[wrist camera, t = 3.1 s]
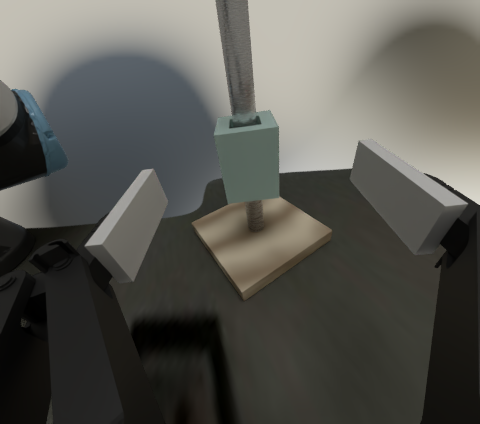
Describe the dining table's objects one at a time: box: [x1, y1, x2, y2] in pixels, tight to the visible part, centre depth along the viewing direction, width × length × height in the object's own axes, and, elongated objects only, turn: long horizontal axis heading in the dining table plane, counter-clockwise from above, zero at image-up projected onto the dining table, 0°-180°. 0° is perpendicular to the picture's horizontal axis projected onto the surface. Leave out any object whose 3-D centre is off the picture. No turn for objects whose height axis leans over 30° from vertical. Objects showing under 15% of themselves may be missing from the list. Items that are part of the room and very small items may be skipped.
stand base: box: [192, 197, 332, 301], centre depth 31 cm, size 15×15×2 cm
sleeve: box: [214, 110, 279, 204], centre depth 23 cm, size 6×6×8 cm
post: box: [216, 0, 264, 232], centre depth 18 cm, size 5×5×40 cm
